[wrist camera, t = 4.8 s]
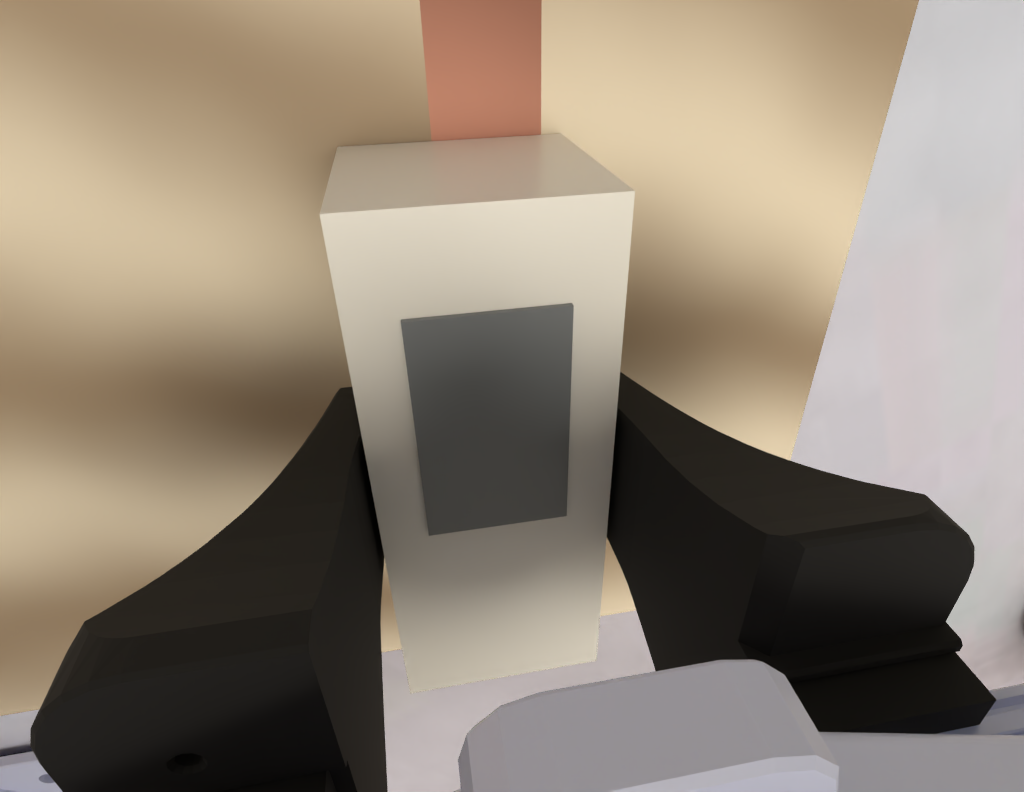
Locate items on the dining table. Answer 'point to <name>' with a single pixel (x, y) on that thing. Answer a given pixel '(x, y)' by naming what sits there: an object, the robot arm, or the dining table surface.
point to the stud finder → (484, 388)
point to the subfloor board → (302, 252)
